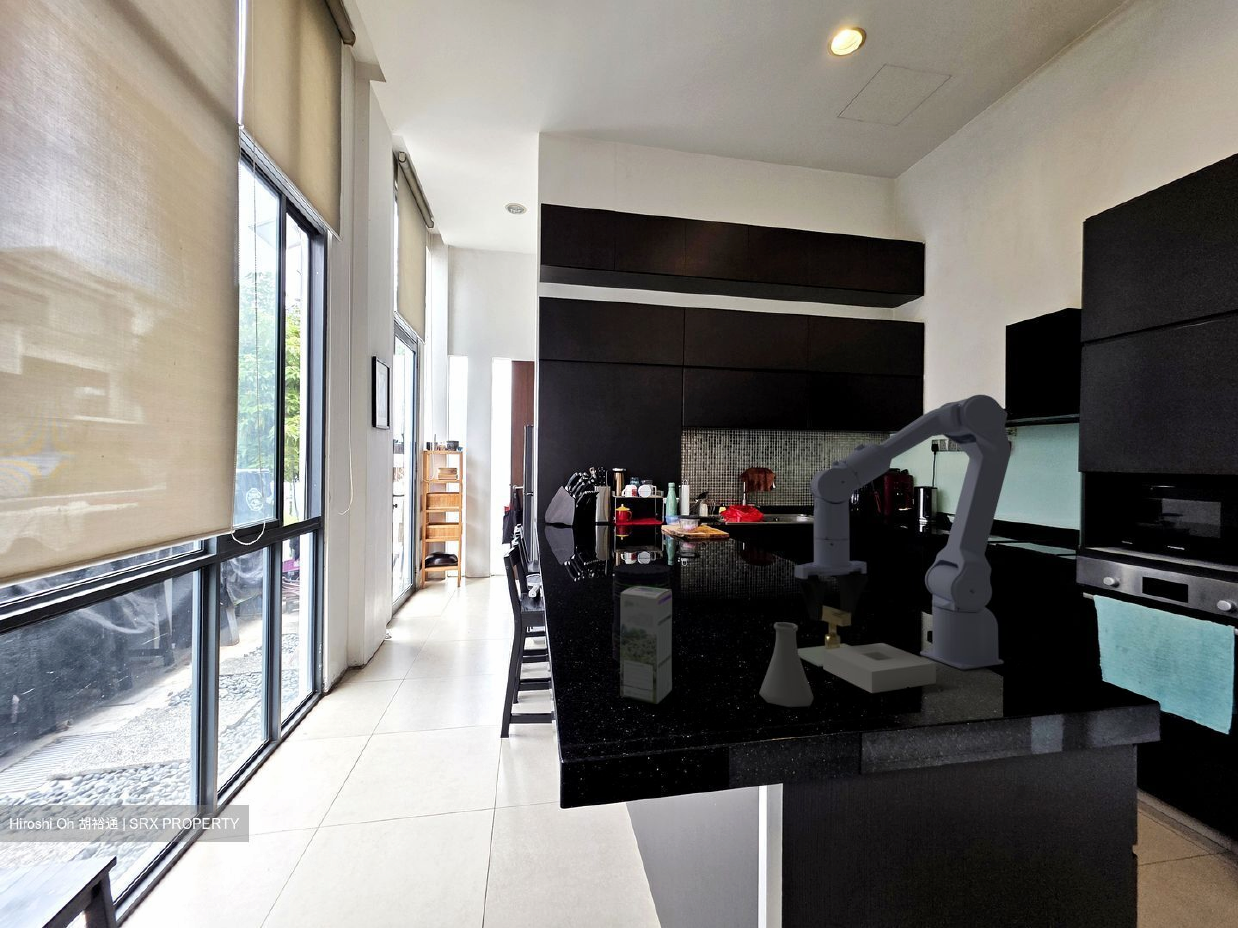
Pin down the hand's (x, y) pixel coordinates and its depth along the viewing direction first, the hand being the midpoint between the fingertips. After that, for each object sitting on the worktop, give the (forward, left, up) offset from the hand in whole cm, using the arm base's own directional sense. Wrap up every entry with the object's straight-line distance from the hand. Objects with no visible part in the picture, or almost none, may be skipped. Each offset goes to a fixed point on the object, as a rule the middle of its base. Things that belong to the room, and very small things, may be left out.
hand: (831, 617), depth 91 cm
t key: (0, 0, -6) cm, 6 cm away
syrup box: (+36, +6, -7) cm, 38 cm away
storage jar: (+32, -10, -7) cm, 34 cm away
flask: (+18, +12, -7) cm, 23 cm away
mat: (0, 0, -6) cm, 6 cm away
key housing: (0, +10, -6) cm, 12 cm away
